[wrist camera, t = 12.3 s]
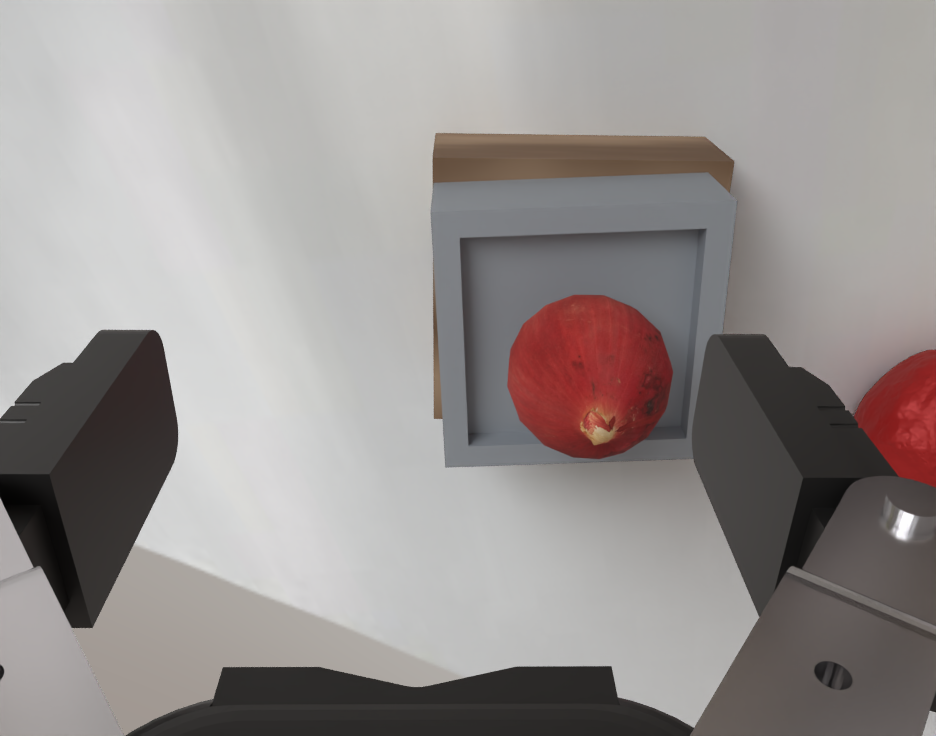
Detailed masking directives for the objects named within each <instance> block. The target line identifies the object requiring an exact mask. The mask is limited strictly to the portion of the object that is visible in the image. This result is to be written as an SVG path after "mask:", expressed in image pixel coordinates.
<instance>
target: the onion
mask: <svg viewBox="0 0 936 736" xmlns="http://www.w3.org/2000/svg"><path fill="white" fill-rule="evenodd" d="M672 377H673V369H672V365H671V361H670V358H669V355H668V353H667V350H666V347H665V344H664V341H663V338H662V335H661V332H660V331H659V330H658V329H657V328H656V327H655V326H654V325H653V324H652V323H651V322H649V321H648V320H647V319H646V318H645V317H644V316H643V315H642V314H641V313H640V312H639V311H638V310H637V309H635V308H633V307H631V306H629V305H627V304H624V303H622V302H619V301H617V300H615V299H612V298H610V297H607V296H605V295H572V296H569V297H566V298H564V299H561V300H558V301H555V302H553V303H550V304H547V305H545V306H544V307H543V308H542V309H541V310H539V311H538V312H537V313H536V314H535V315H533V316H532V317H531V318H530V319H529V320H527V321H526V322H525V323H524V324H523V325H522V327H521V329H520V331H519V333H518V335H517V337H516V339H515V341H514V343H513V345H512V347H511V349H510V357H509V368H508V382H507V387H508V390H509V393H510V395H511V398H512V400H513V403H514V406H515V408H516V411H517V414H518V417H519V420H520V421H521V422H522V423H523V424H524V425H525V426H526V427H527V428H528V429H529V430H530V431H531V432H532V433H533V434H534V435H535V436H536V437H537V438H538V440H539V441H540V442H541V443H542V444H543V445H544V446H547V447H549V448H551V449H554V450H556V451H559V452H561V453H563V454H566V455H568V456H570V457H573V458H587V459H602V458H606V457H610V456H614V455H617V454H621V453H624V452H626V451H627V450H629V449H630V448H632V447H633V446H635V445H637V444H638V443H640V442H641V441H643V440H644V439H646V438H647V437H648V436H649V435H650V433H651V432H652V430H653V429H654V427H655V426H656V424H657V423H658V421H659V420H660V418H661V417H662V415H663V414H664V412H665V410H666V407H667V404H668V399H669V393H670V388H671V382H672Z"/></svg>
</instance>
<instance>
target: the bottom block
mask: <svg viewBox="0 0 936 736" xmlns="http://www.w3.org/2000/svg"><path fill="white" fill-rule="evenodd" d="M733 168H734V161H733V160H732V159H731V158H730V157H729V156H727V155H726V154H725V153H724V152H723V151H721V150H720V149H719V148H718V147H717V146H715V145H714V144H713V143H712V142H711V141H709V140H708V139H707V138H706V137H683V136H607V135H531V134H455V133H436V135H435V143H434V151H433V184H434V183H442V182H468V181H495V180H521V179H547V178H573V177H600V176H626V175H652V174H679V173H705V172H708V173H709V174H710V175H711V176H712V177H714V178H715V179H716V180H717V181H718V182H719V183H720V184H721V185H722V186H723V187H724V188H725V189H726V190H727V191H728V192H729V193H730V186H731V180H732V174H733ZM433 329H434V419H443V417H442V400H441V382H440V365H439V348H438V331H437V313H436V296H435V279H434V262H433Z"/></svg>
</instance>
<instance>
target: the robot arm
mask: <svg viewBox="0 0 936 736" xmlns="http://www.w3.org/2000/svg"><path fill="white" fill-rule="evenodd" d="M177 445H178V424H177V417H176V412H175V407H174V401H173V396H172V390H171V385H170V379H169V374H168V368H167V363H166V358H165V352H164V347H163V343H162V340H161V338H160V336H159V334H158V333H157V332H156V331H154V330H101V331H99V332H98V333H97V334H96V335H95V337H94V338H93V339H92V340H91V341H90V343H89V344H88V345H87V346H86V348H85V349H84V350H83V351H82V353H81V354H80V355H79V356H78V357H77V359H76V360H75V361H74V362H73V363H62V364H60V365H59V366H57V367H55V368H54V369H52V370H50V371H49V372H47V373H45V374H44V375H42V376H40V377H39V378H37V379H35V380H34V381H32V383H31V384H30V385H29V386H28V387H27V388H26V389H25V391H24V392H23V393H22V394H21V395H20V396H19V398H18V399H17V400H16V401H15V406H11V407H10V408H9V409H8V410H7V411H6V413H5V414H4V415H3V416H2V417H1V418H0V736H124V734H123V732H122V730H121V728H120V726H119V724H118V722H117V720H116V717H115V716H114V713H113V711H112V709H111V707H110V705H109V703H108V701H107V699H106V697H105V695H104V693H103V691H102V689H101V687H100V685H99V683H98V681H97V679H96V677H95V675H94V673H93V671H92V669H91V667H90V665H89V663H88V661H87V659H86V657H85V655H84V653H83V650H82V648H81V646H80V644H79V642H78V640H77V638H76V636H75V634H74V633H73V630H72V628H93V626H94V623H95V622H96V620H97V617H98V616H99V614H100V612H101V610H102V607H103V605H104V603H105V601H106V599H107V597H108V595H109V593H110V591H111V589H112V587H113V585H114V583H115V581H116V579H117V577H118V575H119V573H120V571H121V569H122V567H123V565H124V563H125V561H126V559H127V557H128V555H129V553H130V551H131V549H132V547H133V545H134V543H135V541H136V539H137V536H138V534H139V532H140V530H141V528H142V526H143V524H144V522H145V520H146V518H147V516H148V514H149V512H150V510H151V508H152V506H153V504H154V502H155V500H156V498H157V496H158V494H159V492H160V490H161V488H162V486H163V484H164V482H165V480H166V478H167V476H168V474H169V472H170V470H171V467H172V465H173V463H174V460H175V457H176V452H177ZM692 451H693V458H694V462H695V466H696V468H697V471H698V473H699V475H700V478H701V480H702V482H703V485H704V487H705V490H706V492H707V494H708V497H709V499H710V501H711V504H712V506H713V508H714V511H715V513H716V516H717V518H718V520H719V523H720V525H721V527H722V530H723V532H724V535H725V537H726V539H727V542H728V544H729V546H730V549H731V551H732V553H733V556H734V558H735V561H736V563H737V565H738V568H739V570H740V572H741V575H742V577H743V579H744V582H745V584H746V587H747V589H748V591H749V594H750V596H751V598H752V601H753V603H754V605H755V608H756V610H757V613H758V615H759V619H758V621H757V622H756V624H755V626H754V627H753V629H752V631H751V632H750V634H749V636H748V638H747V639H746V641H745V643H744V644H743V646H742V648H741V649H740V651H739V653H738V655H737V656H736V658H735V660H734V661H733V663H732V665H731V666H730V668H729V670H728V672H727V673H726V675H725V677H724V678H723V680H722V682H721V683H720V685H719V687H718V688H717V690H716V692H715V694H714V695H713V697H712V699H711V700H710V702H709V704H708V705H707V707H706V709H705V711H704V712H703V714H702V716H701V717H700V719H699V721H698V722H697V724H696V726H695V728H693V727H691V726H689V725H688V724H686V723H684V722H682V721H681V720H679V719H677V718H675V717H673V716H670V715H668V714H666V713H664V712H661V711H659V710H657V709H655V708H652V707H649V706H646V705H643V704H640V703H637V702H634V701H630V700H626V699H622V698H618V697H617V692H616V687H615V682H614V677H613V672H612V667H611V666H578V667H513V668H508V669H504V670H499V671H494V672H490V673H485V674H481V675H476V676H472V677H467V678H463V679H458V680H454V681H449V682H445V683H440V684H435V685H431V686H426V687H408V686H403V685H398V684H394V683H389V682H384V681H380V680H376V679H371V678H366V677H362V676H357V675H353V674H348V673H344V672H339V671H334V670H330V669H325V668H321V667H223V669H222V672H221V676H220V679H219V683H218V686H217V689H216V693H215V696H214V699H212V700H208V701H203V702H199V703H196V704H193V705H190V706H187V707H184V708H181V709H178V710H175V711H173V712H170V713H168V714H166V715H163V716H161V717H159V718H157V719H154V720H152V721H151V722H149V723H147V724H145V725H143V726H141V727H140V728H137V729H136V730H134V731H132V732H131V733H129V734H128V735H126V736H922V734H923V731H924V727H925V724H926V721H927V718H928V714H929V711H933V712H936V488H935V487H933V486H930V485H928V484H925V483H922V482H919V481H915V480H912V479H907V478H902V477H899V476H898V475H897V474H896V472H895V471H894V470H893V468H892V467H891V466H890V464H889V463H888V462H887V460H886V459H885V458H884V457H883V455H882V454H881V453H880V451H879V450H878V449H877V447H876V446H875V445H874V443H873V442H872V441H871V440H870V438H869V437H868V436H867V434H866V433H865V432H864V430H863V429H862V428H858V423H857V421H856V420H855V419H854V417H853V416H852V415H851V413H850V412H849V411H845V406H844V404H843V403H842V402H841V400H840V399H839V398H838V396H837V395H836V394H835V392H834V391H833V390H832V388H831V387H830V386H829V385H828V384H826V383H825V382H823V381H821V380H820V379H818V378H817V377H815V376H814V375H812V374H811V373H809V372H808V371H806V370H805V369H803V368H801V367H789V366H788V365H787V364H786V362H785V361H784V359H783V358H782V357H781V355H780V354H779V352H778V351H777V350H776V348H775V347H774V345H773V344H772V343H771V341H770V340H769V338H768V337H767V336H766V335H763V334H713V335H712V336H711V337H710V338H709V340H708V342H707V345H706V349H705V354H704V360H703V366H702V372H701V378H700V384H699V390H698V395H697V401H696V407H695V413H694V419H693V426H692Z"/></svg>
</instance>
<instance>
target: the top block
mask: <svg viewBox="0 0 936 736" xmlns="http://www.w3.org/2000/svg"><path fill="white" fill-rule="evenodd" d="M736 209H737V200H736V199H735V198H734V197H733V196H732V195H731V194H730V193H729V192H728V191H727V190H726V189H725V188H724V187H723V186H722V185H721V184H720V183H719V182H718V181H717V180H716V179H715V178H714V177H712V176H711V175H710V174H709V173H708V172H705V173H679V174H652V175H626V176H600V177H573V178H547V179H521V180H495V181H468V182H442V183H434V184H433V194H432V204H431V227H432V244H433V262H434V279H435V296H436V313H437V331H438V348H439V365H440V382H441V400H442V417H443V434H444V451H445V468H446V467H474V466H502V465H531V464H559V463H587V462H615V461H644V460H672V459H694V458H693V451H692V426H693V419H694V413H695V407H696V401H697V395H698V390H699V384H700V378H701V372H702V366H703V360H704V354H705V349H706V345H707V342H708V340H709V338H710V337H711V336H712V335H713V334H722V333H723V324H724V315H725V306H726V297H727V289H728V280H729V271H730V262H731V253H732V244H733V235H734V226H735V217H736ZM572 295H605V296H607V297H610V298H612V299H615V300H617V301H619V302H622V303H624V304H627V305H629V306H631V307H633V308H635V309H637V310H638V311H639V312H640V313H641V314H642V315H643V316H644V317H645V318H646V319H647V320H648V321H649V322H651V323H652V324H653V325H654V326H655V327H656V328H657V329H658V330H659V331H660V332H661V335H662V338H663V341H664V344H665V347H666V350H667V353H668V355H669V358H670V361H671V365H672V369H673V377H672V382H671V388H670V393H669V399H668V404H667V407H666V410H665V412H664V414H663V415H662V417H661V418H660V420H659V421H658V423H657V424H656V426H655V427H654V429H653V430H652V432H651V433H650V435H649V436H648V437H647V438H646V439H644V440H643V441H641V442H640V443H638V444H637V445H635V446H633V447H632V448H630V449H629V450H627V451H626V452H624V453H621V454H617V455H614V456H610V457H606V458H602V459H587V458H573V457H570V456H568V455H566V454H563V453H561V452H559V451H556V450H554V449H551V448H549V447H547V446H544V445H543V444H542V443H541V442H540V441H539V440H538V438H537V437H536V436H535V435H534V434H533V433H532V432H531V431H530V430H529V429H528V428H527V427H526V426H525V425H524V424H523V423H522V422H521V421H520V420H519V417H518V414H517V411H516V408H515V406H514V403H513V400H512V398H511V395H510V393H509V390H508V387H507V382H508V368H509V357H510V349H511V347H512V345H513V343H514V341H515V339H516V337H517V335H518V333H519V331H520V329H521V327H522V325H523V324H524V323H525V322H526V321H527V320H529V319H530V318H531V317H532V316H533V315H535V314H536V313H537V312H538V311H539V310H541V309H542V308H543V307H544V306H545V305H547V304H550V303H553V302H555V301H558V300H561V299H564V298H566V297H569V296H572Z"/></svg>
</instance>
